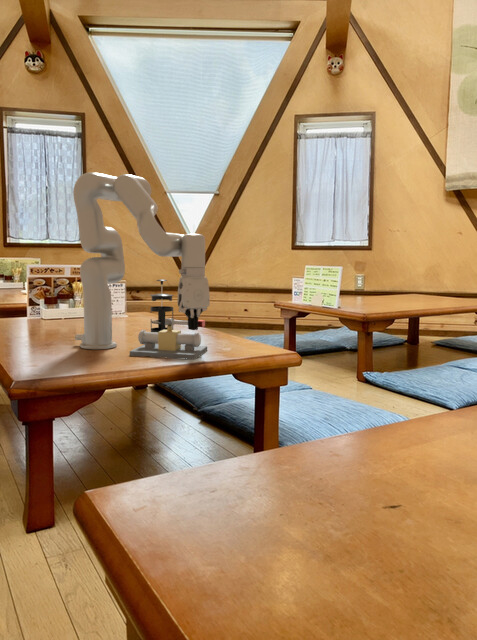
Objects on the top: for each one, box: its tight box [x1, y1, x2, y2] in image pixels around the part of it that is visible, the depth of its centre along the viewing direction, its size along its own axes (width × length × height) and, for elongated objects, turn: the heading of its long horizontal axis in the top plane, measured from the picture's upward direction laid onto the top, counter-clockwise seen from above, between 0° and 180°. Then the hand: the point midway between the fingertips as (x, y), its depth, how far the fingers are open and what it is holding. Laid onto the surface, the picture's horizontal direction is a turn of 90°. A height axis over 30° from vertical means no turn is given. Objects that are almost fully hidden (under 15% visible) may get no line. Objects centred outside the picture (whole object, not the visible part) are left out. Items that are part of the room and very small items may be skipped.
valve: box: [129, 325, 208, 360], centre depth 177 cm, size 22×16×9 cm
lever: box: [165, 317, 206, 328], centre depth 175 cm, size 14×3×2 cm, turn 76°
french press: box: [150, 279, 174, 333], centre depth 209 cm, size 12×9×23 cm
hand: (193, 329), depth 171 cm, fingers closed
